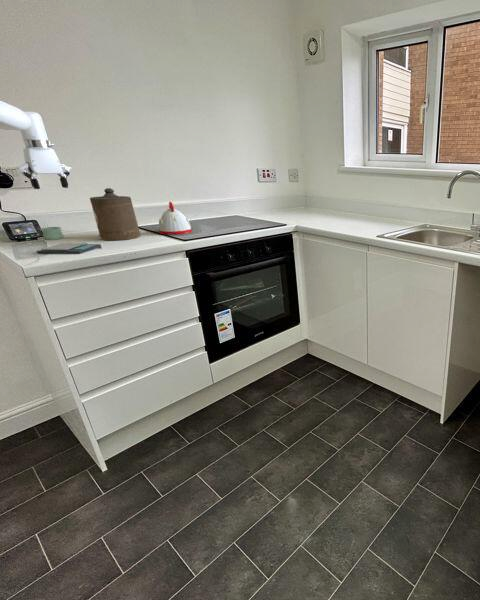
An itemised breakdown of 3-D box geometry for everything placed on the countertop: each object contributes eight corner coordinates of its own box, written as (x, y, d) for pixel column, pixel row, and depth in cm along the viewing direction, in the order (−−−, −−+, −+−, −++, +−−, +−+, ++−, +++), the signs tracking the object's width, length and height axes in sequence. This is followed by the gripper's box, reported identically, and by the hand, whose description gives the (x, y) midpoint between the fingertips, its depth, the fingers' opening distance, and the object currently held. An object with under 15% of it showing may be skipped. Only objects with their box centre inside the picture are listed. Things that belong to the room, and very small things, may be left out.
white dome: (162, 235, 170) (155, 204, 164) (158, 231, 179) (151, 201, 174) (194, 233, 178) (188, 202, 172) (189, 229, 188) (183, 200, 182)
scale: (38, 257, 128) (36, 249, 127) (63, 249, 139) (61, 242, 138) (81, 257, 130) (78, 249, 129) (102, 250, 141) (100, 242, 140)
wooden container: (115, 234, 170) (102, 186, 162) (147, 234, 171) (136, 187, 163) (92, 240, 156) (77, 189, 148) (127, 241, 157) (114, 190, 149)
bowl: (40, 239, 154) (36, 229, 152) (51, 236, 160) (48, 226, 158) (56, 239, 155) (53, 229, 153) (67, 237, 161) (64, 226, 159)
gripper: (58, 145, 153) (70, 186, 159) (4, 143, 138) (20, 188, 145) (68, 146, 150) (80, 187, 157) (14, 144, 136) (30, 190, 142)
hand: (51, 188), depth 151 cm, fingers open, 9 cm apart
